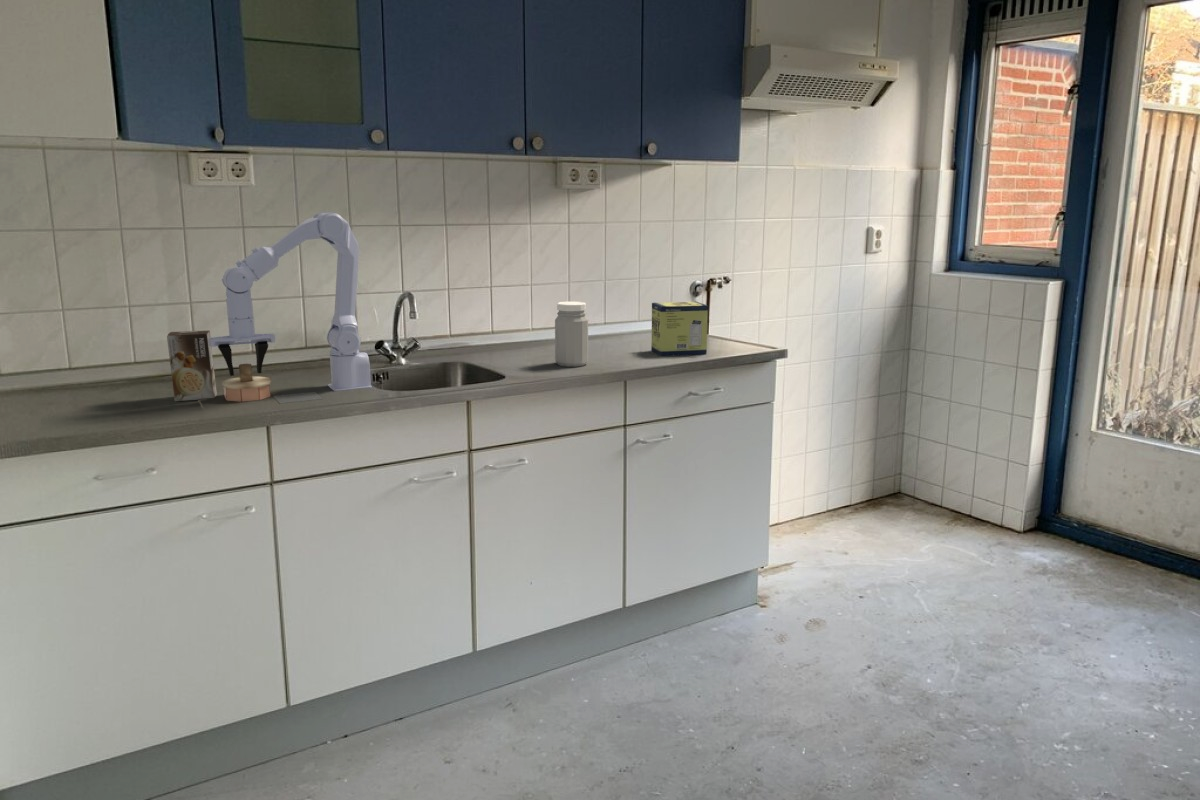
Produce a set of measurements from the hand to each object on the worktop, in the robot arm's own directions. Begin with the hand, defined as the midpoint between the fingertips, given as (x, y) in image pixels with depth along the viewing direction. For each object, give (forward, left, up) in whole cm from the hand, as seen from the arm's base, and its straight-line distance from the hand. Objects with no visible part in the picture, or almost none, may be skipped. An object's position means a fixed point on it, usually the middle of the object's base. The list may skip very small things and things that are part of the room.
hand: (245, 373), depth 216 cm
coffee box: (+11, -6, -6) cm, 14 cm away
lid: (0, 0, -2) cm, 3 cm away
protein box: (-129, -4, -6) cm, 129 cm away
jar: (-90, -2, -6) cm, 90 cm away
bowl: (0, 0, -6) cm, 6 cm away
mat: (-10, +7, -6) cm, 14 cm away
